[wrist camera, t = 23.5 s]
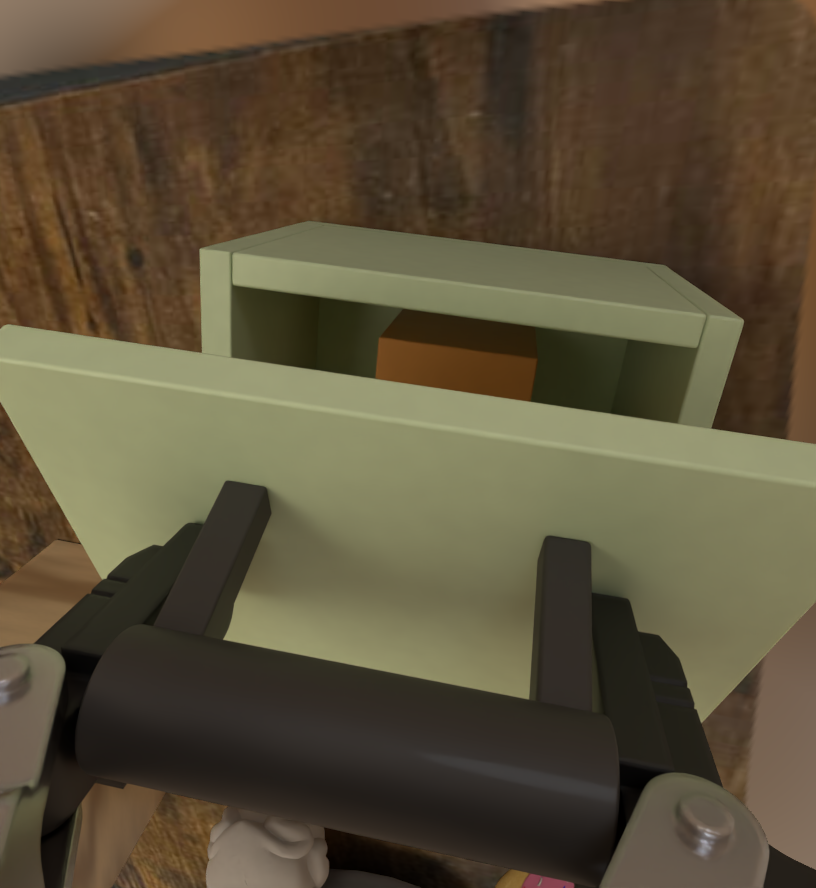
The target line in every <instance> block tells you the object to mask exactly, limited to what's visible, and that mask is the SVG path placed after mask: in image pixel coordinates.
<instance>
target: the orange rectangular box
mask: <svg viewBox="0 0 816 888" xmlns="http://www.w3.org/2000/svg"><path fill="white" fill-rule="evenodd" d="M537 365H538V353H537V342H536V330H535V327H533V326H526V325H518V324H511V323H504V322H496V321H489V320H482V319H474V318H467V317H460V316H452V315H445V314H438V313H430V312H423V311H416V310H408V309H403V310H402V311H401V312H400V313H399V314H398V316H397V317H396V318H395V319H394V320H393V322H392V323H391V324H390V325H389V326H388V328H387V329H386V330H385V331H384V332H383V333H382V335H381V336H380V337H379V340H378V352H377V364H376V376H375V379H380V380H387V381H394V382H400V383H407V384H414V385H421V386H427V387H434V388H441V389H448V390H454V391H461V392H468V393H474V394H481V395H488V396H495V397H501V398H508V399H515V400H522V401H528V402H531V397H532V392H533V386H534V381H535V375H536V370H537Z"/></svg>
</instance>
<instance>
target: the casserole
mask: <svg viewBox="0 0 816 888" xmlns="http://www.w3.org/2000/svg"><path fill="white" fill-rule="evenodd" d="M321 888H421V887H418V886H415V885H412V884H409V883H407V882H404V881H401V880H398V879H395V878H392V877H388V876H383V875H377V874H372V873H367V872H362V871H355V870H341V869H329V874H328V877H327V879H326V881H325V883H324V884H323V886H322V887H321Z"/></svg>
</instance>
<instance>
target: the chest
mask: <svg viewBox="0 0 816 888" xmlns="http://www.w3.org/2000/svg"><path fill="white" fill-rule="evenodd" d="M200 286H201V327H202V353H205V354H212V355H218V356H225V357H232V358H239V359H245V360H252V361H259V362H266V363H272V364H279V365H286V366H293V367H299V368H306V369H313V370H320V371H326V372H333V373H340V374H346V375H353V376H360V377H367V378H373V379H375V376H376V364H377V352H378V340H379V337H380V336H381V335H382V333H383V332H384V331H385V330H386V329H387V328H388V326H389V325H390V324H391V323H392V322H393V320H394V319H395V318H396V317H397V316H398V314H399V313H400V312H401V311H402V310H403V309H408V310H416V311H423V312H430V313H438V314H445V315H452V316H460V317H467V318H474V319H482V320H489V321H496V322H504V323H511V324H518V325H526V326H533V327H535V330H536V342H537V353H538V365H537V370H536V375H535V381H534V386H533V392H532V397H531V402H535V403H542V404H549V405H555V406H562V407H569V408H575V409H582V410H589V411H596V412H602V413H609V414H616V415H623V416H629V417H636V418H643V419H650V420H656V421H663V422H670V423H677V424H683V425H690V426H697V427H703V428H710V429H711V427H712V424H713V421H714V417H715V414H716V411H717V408H718V405H719V401H720V398H721V395H722V392H723V389H724V385H725V382H726V379H727V376H728V372H729V369H730V366H731V363H732V360H733V356H734V353H735V350H736V347H737V344H738V340H739V337H740V334H741V331H742V327H743V324H744V320H743V319H742V318H740V317H739V316H737V315H736V314H734V313H733V312H732V311H730V310H729V309H727V308H726V307H724V306H723V305H721V304H720V303H718V302H717V301H716V300H714V299H713V298H711V297H710V296H708V295H707V294H705V293H704V292H702V291H701V290H700V289H698V288H697V287H695V286H694V285H692V284H691V283H689V282H688V281H687V280H685V279H684V278H682V277H681V276H679V275H678V274H676V273H675V272H673V271H672V270H671V269H669V268H668V267H666V266H665V265H660V264H652V263H644V262H636V261H628V260H620V259H612V258H603V257H595V256H587V255H579V254H571V253H563V252H555V251H547V250H539V249H531V248H523V247H515V246H507V245H499V244H491V243H483V242H475V241H467V240H459V239H451V238H442V237H434V236H426V235H418V234H410V233H402V232H394V231H386V230H378V229H370V228H362V227H354V226H346V225H338V224H330V223H322V222H314V221H307V222H303V223H298V224H294V225H291V226H287V227H283V228H279V229H275V230H271V231H267V232H263V233H259V234H255V235H251V236H247V237H243V238H239V239H235V240H231V241H227V242H223V243H219V244H216V245H212V246H208V247H204V248H200Z"/></svg>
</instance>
